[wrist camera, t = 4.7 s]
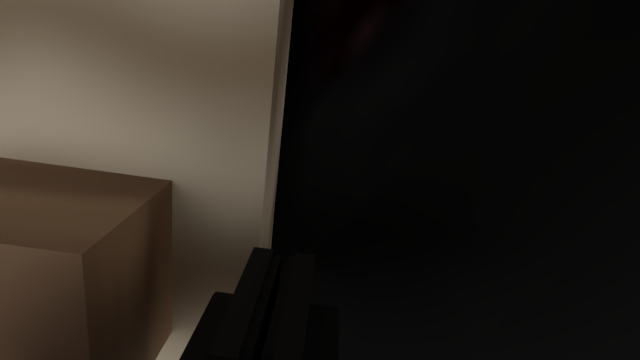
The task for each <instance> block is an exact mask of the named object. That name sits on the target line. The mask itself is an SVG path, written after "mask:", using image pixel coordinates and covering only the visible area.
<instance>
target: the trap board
mask: <svg viewBox="0 0 640 360" xmlns="http://www.w3.org/2000/svg"><path fill="white" fill-rule="evenodd" d="M293 3H294V0H0V157H2V158H9V159H17V160H24V161H31V162H39V163H46V164H54V165H61V166H68V167H76V168H83V169H90V170H98V171H105V172H113V173H120V174H127V175H135V176H142V177H150V178H157V179H164V180H172V333H171V334H170V336H169V338H168V339H167V341H166V343H165V344H164V346H163V348H162V349H161V351H160V353H159V355H158V356H157V358H156V360H179V359H180V357H181V355H182V353H183V351H184V349H185V347H186V346H187V344H188V342H189V340H190V338H191V336H192V334H193V332H194V330H195V328H196V326H197V324H198V322H199V320H200V318H201V316H202V314H203V313H204V311H205V309H206V307H207V305H208V303H209V301H210V299H211V297H212V295H213V294H214V292H216V291H217V292H225V293H232V294H233V293H234V291H235V289H236V287H237V284H238V282H239V280H240V277H241V275H242V273H243V271H244V268H245V266H246V264H247V261H248V259H249V257H250V255H251V252H252V250H253V248H254V247H260V248H268V249H271V241H272V230H273V219H274V209H275V198H276V187H277V176H278V165H279V154H280V144H281V133H282V122H283V111H284V100H285V89H286V79H287V68H288V57H289V46H290V35H291V24H292V14H293Z"/></svg>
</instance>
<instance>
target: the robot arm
mask: <svg viewBox="0 0 640 360" xmlns="http://www.w3.org/2000/svg"><path fill="white" fill-rule="evenodd" d="M315 258H316V255H314V254H306V253H299V252H296V254H295V257H287V260H286V264H285V268H284V271H283V275H282V279H281V283H280V287H279V279H280V269H281V256H280V255H275V250H274V249H268V248H260V247H254V248H253V250H252V252H251V255H250V257H249V259H248V261H247V264H246V266H245V268H244V271H243V273H242V275H241V277H240V280H239V282H238V284H237V287H236V289H235V291H234V293H233V294H232V293H225V292H217V291H216V292H214V294H213V295H212V297H211V299H210V301H209V303H208V305H207V307H206V309H205V311H204V313H203V314H202V316H201V318H200V320H199V322H198V324H197V326H196V328H195V330H194V332H193V334H192V336H191V338H190V340H189V342H188V344H187V346H186V347H185V349H184V351H183V353H182V355H181V357H180V359H179V360H338V345H339V307H331V306H324V305H316V304H310V297H311V289H312V281H313V273H314V266H315ZM278 290H279V291H278Z"/></svg>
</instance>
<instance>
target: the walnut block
mask: <svg viewBox="0 0 640 360" xmlns="http://www.w3.org/2000/svg"><path fill="white" fill-rule="evenodd" d="M171 333H172V180H164V179H157V178H150V177H142V176H135V175H127V174H120V173H113V172H105V171H98V170H90V169H83V168H76V167H68V166H61V165H54V164H46V163H39V162H31V161H24V160H17V159H9V158H2V157H0V360H156V358H157V356H158V355H159V353H160V351H161V349H162V348H163V346H164V344H165V343H166V341H167V339H168V338H169V336H170V334H171Z"/></svg>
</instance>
